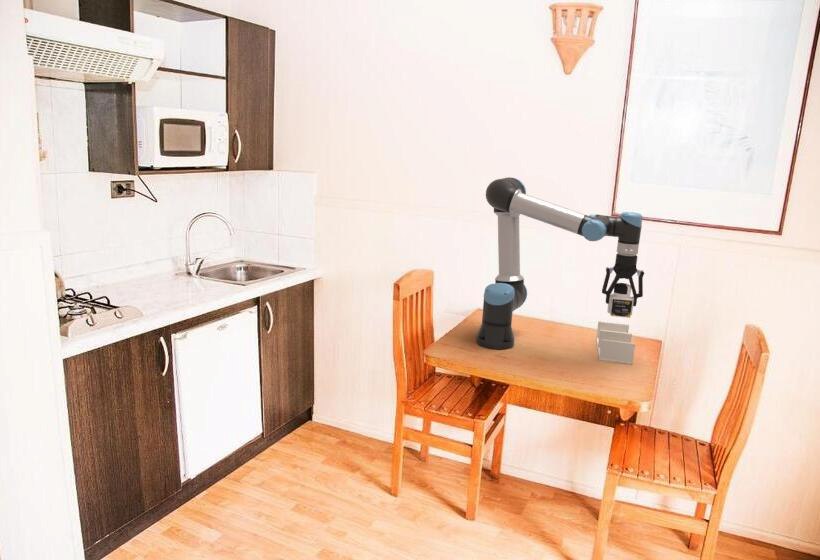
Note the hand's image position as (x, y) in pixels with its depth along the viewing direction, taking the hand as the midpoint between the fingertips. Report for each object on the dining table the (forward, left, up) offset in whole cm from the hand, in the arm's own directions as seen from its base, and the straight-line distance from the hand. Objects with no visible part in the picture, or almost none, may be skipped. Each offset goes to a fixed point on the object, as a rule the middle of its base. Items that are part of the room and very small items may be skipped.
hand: (619, 312), depth 237 cm
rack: (0, +6, -17) cm, 18 cm away
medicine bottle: (0, 0, -1) cm, 1 cm away
